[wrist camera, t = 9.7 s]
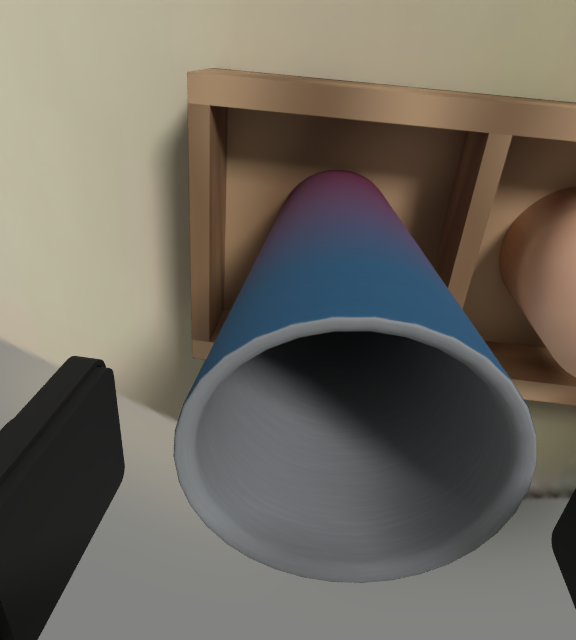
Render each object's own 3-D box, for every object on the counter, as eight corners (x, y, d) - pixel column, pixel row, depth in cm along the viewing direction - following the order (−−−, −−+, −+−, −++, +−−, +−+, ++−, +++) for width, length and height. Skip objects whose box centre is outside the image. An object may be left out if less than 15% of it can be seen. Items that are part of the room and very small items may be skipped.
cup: (344, 317, 25) (366, 620, 12) (232, 237, 23) (111, 486, 10) (443, 212, 22) (620, 459, 9) (323, 112, 20) (321, 232, 7)
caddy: (762, 120, 20) (853, 135, 16) (634, 368, 25) (680, 418, 22) (213, 68, 21) (187, 72, 17) (212, 317, 26) (192, 358, 23)
